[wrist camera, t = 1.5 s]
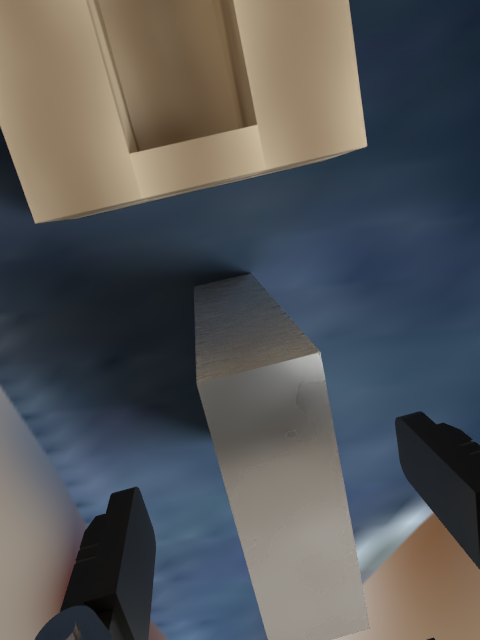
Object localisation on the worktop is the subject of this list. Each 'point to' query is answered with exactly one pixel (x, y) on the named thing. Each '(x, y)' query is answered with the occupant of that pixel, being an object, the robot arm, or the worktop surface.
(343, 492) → the grey stone slab
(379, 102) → the worktop surface
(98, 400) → the worktop surface
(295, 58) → the wooden l-shaped stand
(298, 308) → the worktop surface
